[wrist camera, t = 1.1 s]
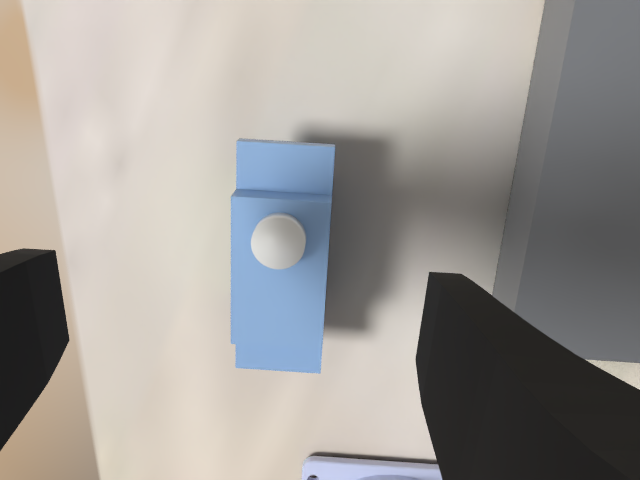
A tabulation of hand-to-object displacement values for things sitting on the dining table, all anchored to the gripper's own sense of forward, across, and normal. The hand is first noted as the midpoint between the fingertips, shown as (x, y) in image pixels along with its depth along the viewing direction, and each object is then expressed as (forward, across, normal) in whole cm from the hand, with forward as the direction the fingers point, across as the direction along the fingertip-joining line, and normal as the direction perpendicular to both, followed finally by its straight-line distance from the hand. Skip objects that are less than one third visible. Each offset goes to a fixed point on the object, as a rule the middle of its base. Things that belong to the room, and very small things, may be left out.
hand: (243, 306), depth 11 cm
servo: (+10, 0, +3) cm, 10 cm away
